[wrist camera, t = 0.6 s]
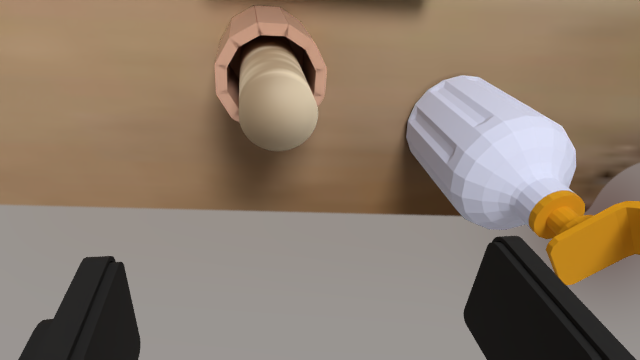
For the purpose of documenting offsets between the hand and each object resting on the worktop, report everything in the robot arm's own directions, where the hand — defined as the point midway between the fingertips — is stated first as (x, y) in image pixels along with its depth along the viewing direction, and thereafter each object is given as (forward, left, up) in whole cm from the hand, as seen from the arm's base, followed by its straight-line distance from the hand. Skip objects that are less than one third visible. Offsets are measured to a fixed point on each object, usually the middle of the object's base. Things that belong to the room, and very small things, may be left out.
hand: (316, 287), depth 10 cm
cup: (0, 0, -25) cm, 25 cm away
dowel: (0, 0, -24) cm, 24 cm away
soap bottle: (-17, +5, -25) cm, 31 cm away
